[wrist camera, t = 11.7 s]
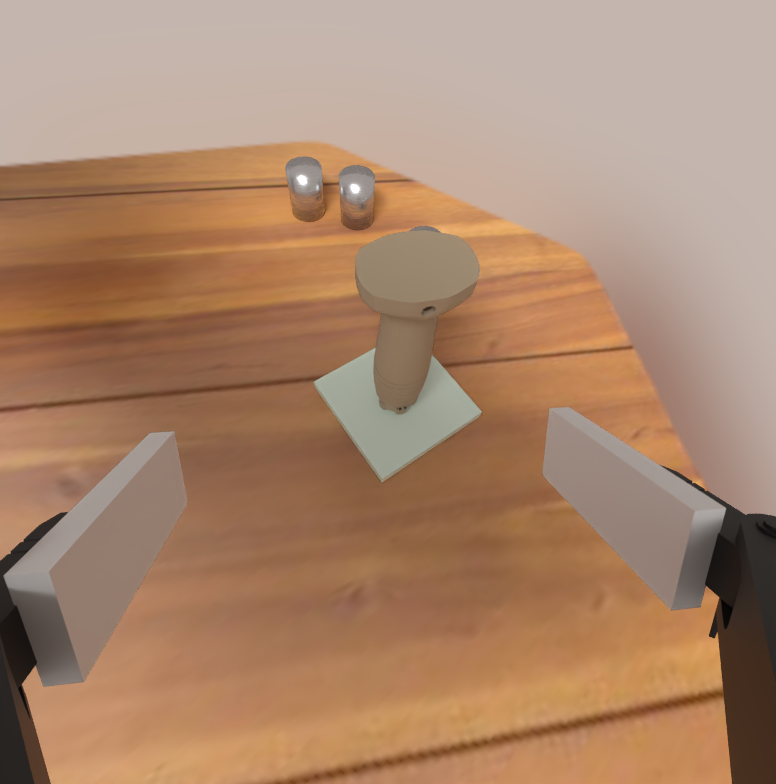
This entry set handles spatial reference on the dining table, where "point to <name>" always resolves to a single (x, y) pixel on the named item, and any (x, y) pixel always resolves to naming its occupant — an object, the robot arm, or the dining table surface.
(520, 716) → the dining table surface
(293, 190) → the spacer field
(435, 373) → the pad
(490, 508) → the dining table surface
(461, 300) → the handle
